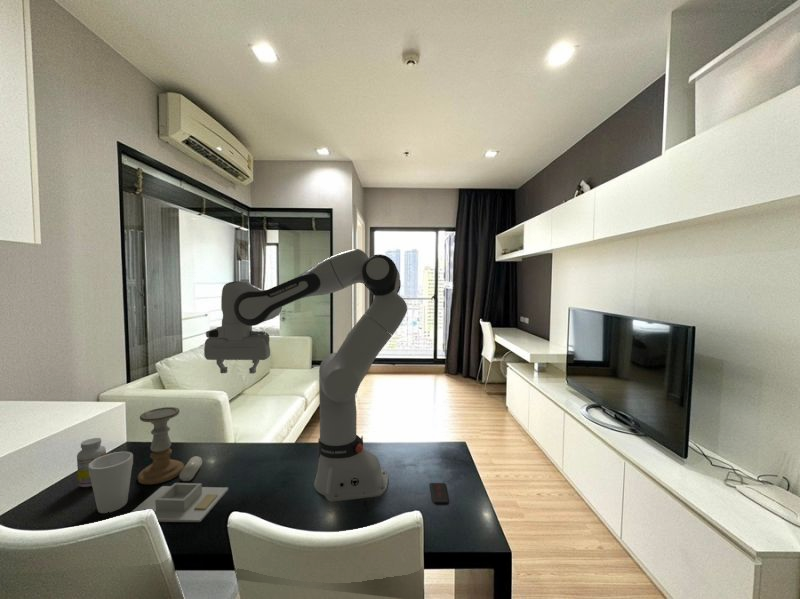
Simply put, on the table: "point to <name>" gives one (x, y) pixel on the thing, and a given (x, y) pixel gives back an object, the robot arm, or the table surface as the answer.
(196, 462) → the white capsule
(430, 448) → the table surface
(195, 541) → the table surface
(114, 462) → the foam cup
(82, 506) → the table surface
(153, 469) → the candle holder
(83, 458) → the supplement bottle
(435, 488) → the dark rectangular block
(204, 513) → the board
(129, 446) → the table surface
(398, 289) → the robot arm
